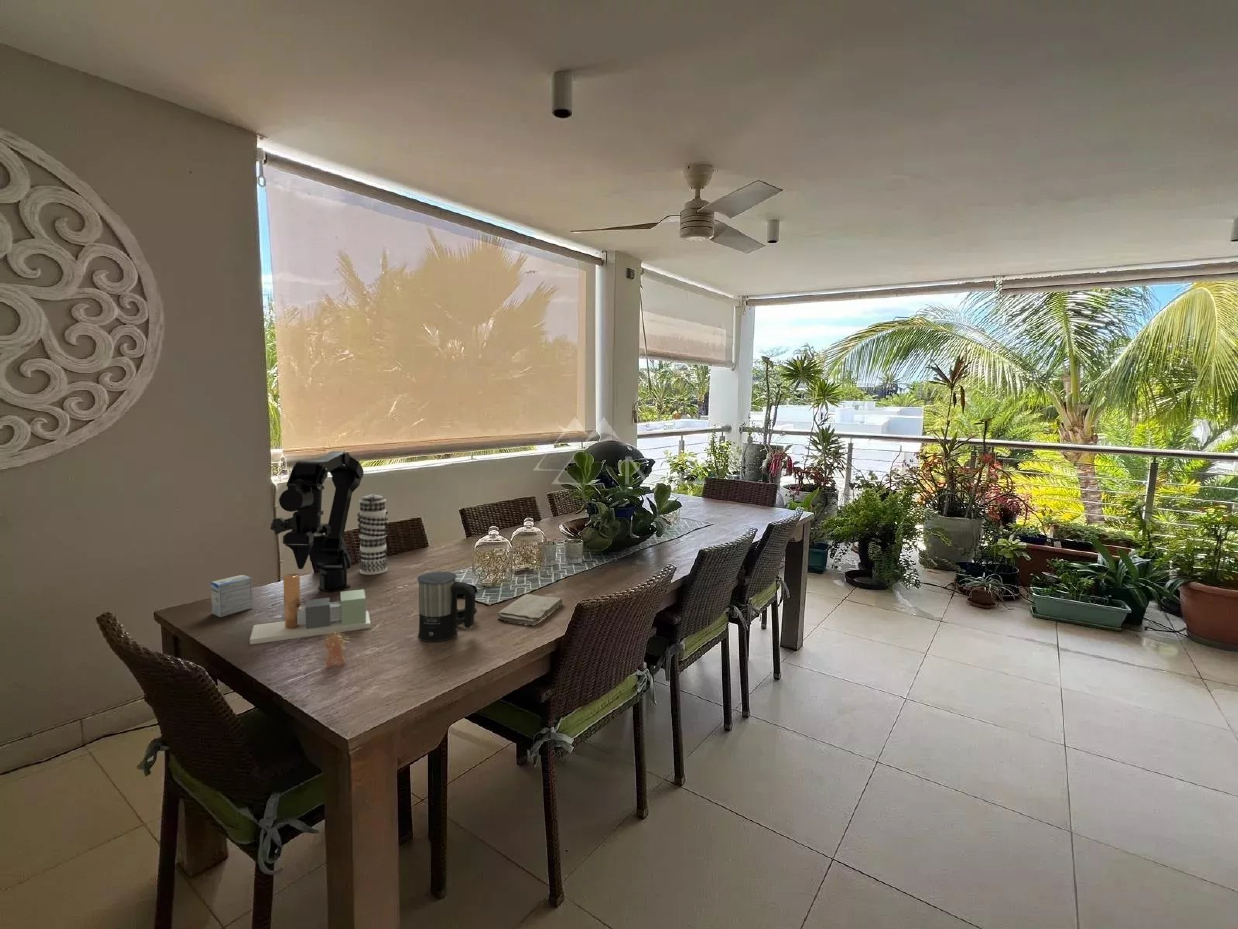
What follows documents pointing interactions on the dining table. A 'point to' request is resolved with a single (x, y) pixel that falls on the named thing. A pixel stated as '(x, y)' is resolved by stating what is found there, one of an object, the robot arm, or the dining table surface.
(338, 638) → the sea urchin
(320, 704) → the dining table surface
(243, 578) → the medicine box
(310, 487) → the robot arm
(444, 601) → the milk frother
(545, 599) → the washcloth
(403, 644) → the dining table surface
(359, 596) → the socket block
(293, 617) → the tube
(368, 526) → the decorative candle
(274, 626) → the tube stand
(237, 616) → the dining table surface
